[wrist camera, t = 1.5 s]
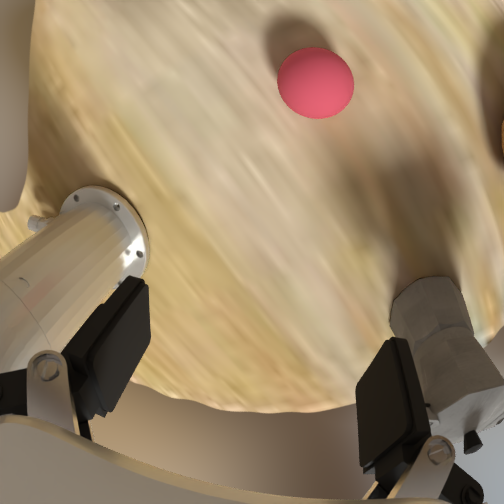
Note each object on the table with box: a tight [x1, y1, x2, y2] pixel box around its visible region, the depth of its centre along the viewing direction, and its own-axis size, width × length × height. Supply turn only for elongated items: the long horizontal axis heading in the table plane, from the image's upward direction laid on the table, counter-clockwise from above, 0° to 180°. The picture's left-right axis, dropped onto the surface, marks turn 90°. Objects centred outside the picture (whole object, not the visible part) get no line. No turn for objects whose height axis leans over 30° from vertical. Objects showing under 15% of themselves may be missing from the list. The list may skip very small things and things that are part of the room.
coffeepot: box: [390, 276, 504, 454], centre depth 21 cm, size 15×9×18 cm, turn 75°
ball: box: [277, 47, 354, 119], centre depth 19 cm, size 6×6×6 cm
